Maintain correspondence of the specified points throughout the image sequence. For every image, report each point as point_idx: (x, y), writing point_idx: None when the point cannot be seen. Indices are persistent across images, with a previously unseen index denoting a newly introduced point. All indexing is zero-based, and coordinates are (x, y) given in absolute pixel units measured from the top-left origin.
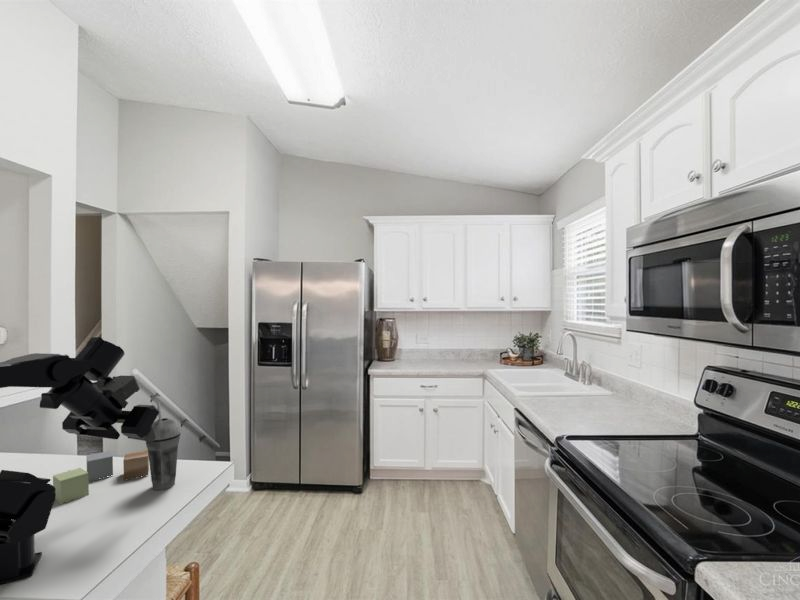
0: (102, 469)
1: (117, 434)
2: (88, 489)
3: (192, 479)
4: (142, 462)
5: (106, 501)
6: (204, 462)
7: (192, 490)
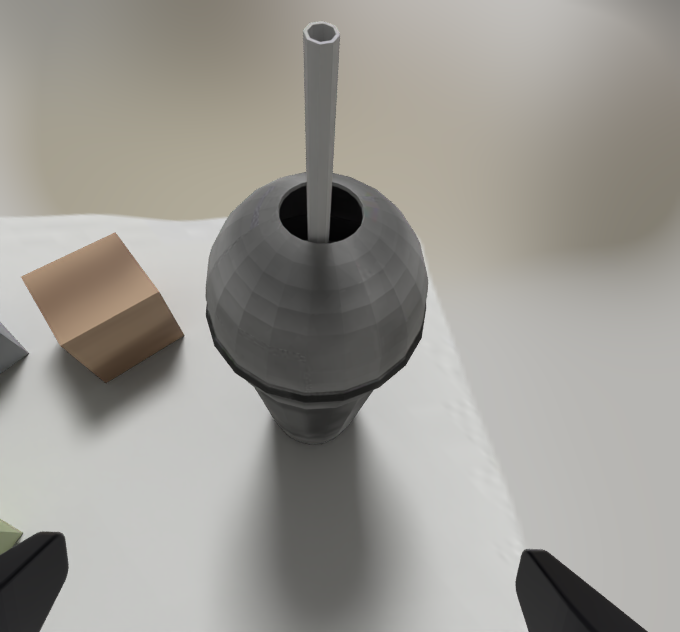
0: None
1: (36, 575)
2: (6, 533)
3: None
4: (147, 316)
5: (160, 583)
6: None
7: (457, 425)
